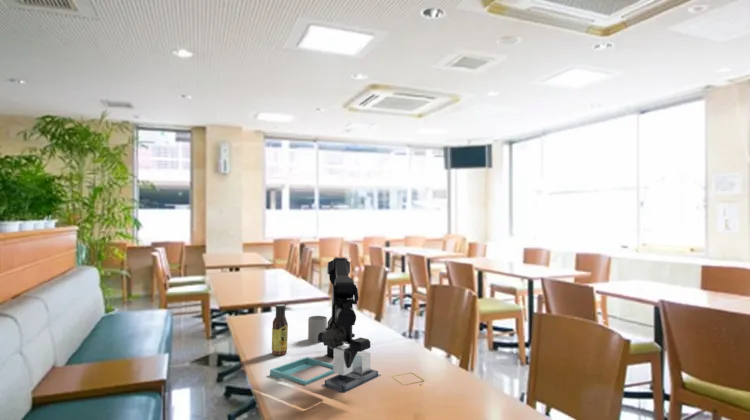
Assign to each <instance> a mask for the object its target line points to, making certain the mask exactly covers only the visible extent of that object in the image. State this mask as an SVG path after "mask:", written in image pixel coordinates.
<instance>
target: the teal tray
mask: <svg viewBox="0 0 750 420" xmlns="http://www.w3.org/2000/svg"><path fill="white" fill-rule="evenodd" d="M317 365H320V366H323V367H326V368H329V369H331V370H328V371H325V372H323V373H321V374H318V375H316V376H314V377H311V378H309V379H303V378H300V377H298V376H295V375H294V374H296V373H299V372H301V371H304V370H307V369H309V368H311V367H314V366H317ZM334 374H335V373H334V372H333V364H332V363H330V362H326V361H322V360H319V359H316V358H313V357H309V356H306V357H302V358H299V359H296V360H294V361H290V362H288V363H285V364H282V365H280V366H276V367H273V368H271V369H269V376H271V377H274V378H277V379H283V378H284V379H287V380H290V381H293V382H296V383H298V384H301V385H305V386H307V385H309V384H312V383H314V382H317V381H319V380H321V379H324V378H326V377H329V376H331V375H334Z"/></svg>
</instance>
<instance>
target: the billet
mask: <svg viewBox="0 0 750 420" xmlns="http://www.w3.org/2000/svg"><path fill="white" fill-rule="evenodd" d="M348 346H349V345H346V344H344V345H341V346H338V347H335V348H334V358H332V361H333V369H332V370H333V372H334V374H336V375H339V374H340V375H346V374H348V373H350V372H352V371H353V362H352V364H351V367H350V368H347V353H346V351H345V350H344V349H346V348H348Z"/></svg>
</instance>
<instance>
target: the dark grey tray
mask: <svg viewBox="0 0 750 420" xmlns="http://www.w3.org/2000/svg"><path fill="white" fill-rule="evenodd" d="M380 376H382V374H379V371H378V370H376V369H372V368H370V373H369V374H367V375H365V376H363V377H362V376H359V375H356V374H352V372H350V373H348V374H346V375H340V374H336V375H334V376H332V377H330V378H329V377H328V378H327V379H325V380H324V383H323V384H321V386H322V387H324V388H328V389H329V390H334V391H335V392H336V391H337V392H340V393H342V394H345V393H348V392H350V391H351V390H354V389H355V388H358V387H360V386H362V385H364V384H366V383H368V382H371V381H373V380H374V379H376V378H378V377H380Z"/></svg>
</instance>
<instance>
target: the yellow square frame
mask: <svg viewBox="0 0 750 420" xmlns="http://www.w3.org/2000/svg"><path fill="white" fill-rule="evenodd" d="M410 374H412V375H414V376H415V377H417V378H418V379H420V381H415V382H410V383H405V384H404V383H402V382H400V381H399V380H398V379H396V378H395V377H399V376H404V375H410ZM391 378H392V379H394V380H395V381H396V382H398V383H399V384H401V385H402V386H406V385H412V384H418V383H421V384H419V386H421V385H422V382H425V379H424V378H422V377H420V376H418V375H416V373H414V372H407V373H406V372H405V373H402V374H396V375H392V376H391Z"/></svg>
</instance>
